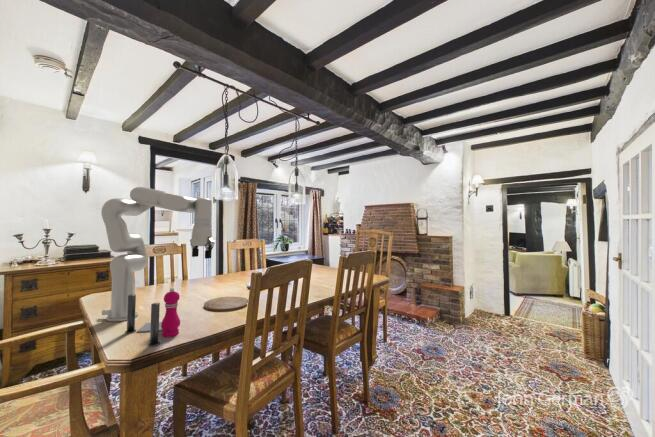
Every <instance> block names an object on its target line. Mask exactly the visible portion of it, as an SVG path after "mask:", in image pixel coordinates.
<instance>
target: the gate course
mask: <svg viewBox="0 0 655 437" xmlns="http://www.w3.org/2000/svg"><path fill="white" fill-rule="evenodd" d="M166 293H168V292H166ZM136 300H137V295H136V293H135V294H133V295H128V312H127V320H126V321H127V322H126V331H125V332H124V334H134V333H137V329H136V326H135V325H136V317H135V312H136V306H137V305H136V304H137V303H136ZM160 305H161V304H160V302H154V303H151V305H150V323H151V329H150V332H149V333H150V334H149V336H150V337H149V343H148V344H147V347H157V346H159V345H160V344H161V342H160V341H159V338H160V336H159V332H160V331H159V322H160Z"/></svg>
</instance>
